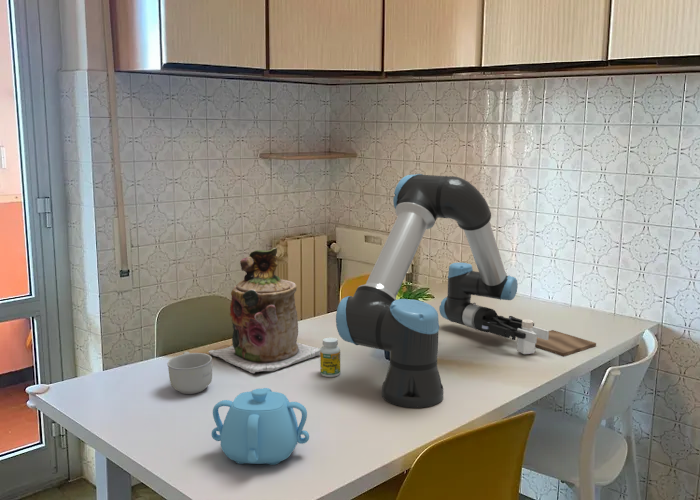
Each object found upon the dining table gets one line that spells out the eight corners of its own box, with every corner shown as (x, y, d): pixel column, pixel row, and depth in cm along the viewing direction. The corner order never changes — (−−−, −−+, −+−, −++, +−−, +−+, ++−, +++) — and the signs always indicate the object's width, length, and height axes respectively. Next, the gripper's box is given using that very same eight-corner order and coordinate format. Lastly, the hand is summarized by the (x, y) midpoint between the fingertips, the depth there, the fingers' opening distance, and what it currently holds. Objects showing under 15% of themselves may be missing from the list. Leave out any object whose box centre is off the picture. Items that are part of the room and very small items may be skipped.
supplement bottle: (340, 370, 186) (340, 336, 184) (340, 377, 180) (340, 342, 179) (320, 370, 185) (320, 336, 184) (320, 377, 180) (320, 342, 178)
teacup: (212, 396, 167) (211, 365, 166) (166, 399, 166) (165, 368, 164) (213, 376, 181) (212, 347, 179) (171, 378, 179) (170, 349, 178)
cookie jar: (272, 337, 214) (270, 236, 208) (325, 356, 197) (326, 247, 191) (205, 355, 197) (201, 246, 191) (257, 378, 180) (255, 259, 174)
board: (563, 356, 198) (563, 353, 198) (519, 342, 210) (519, 338, 210) (596, 346, 207) (596, 342, 207) (552, 332, 220) (552, 329, 220)
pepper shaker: (523, 355, 197) (525, 323, 196) (516, 350, 201) (517, 319, 199) (535, 353, 199) (537, 322, 197) (527, 349, 202) (529, 318, 201)
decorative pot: (276, 429, 150) (275, 370, 148) (315, 458, 137) (315, 394, 135) (207, 449, 141) (205, 386, 139) (242, 482, 128) (240, 413, 126)
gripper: (461, 310, 207) (522, 329, 189) (500, 302, 218) (562, 319, 199) (460, 334, 208) (520, 355, 190) (499, 325, 219) (560, 344, 201)
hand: (541, 337), depth 195 cm, fingers closed on pepper shaker, 5 cm apart
